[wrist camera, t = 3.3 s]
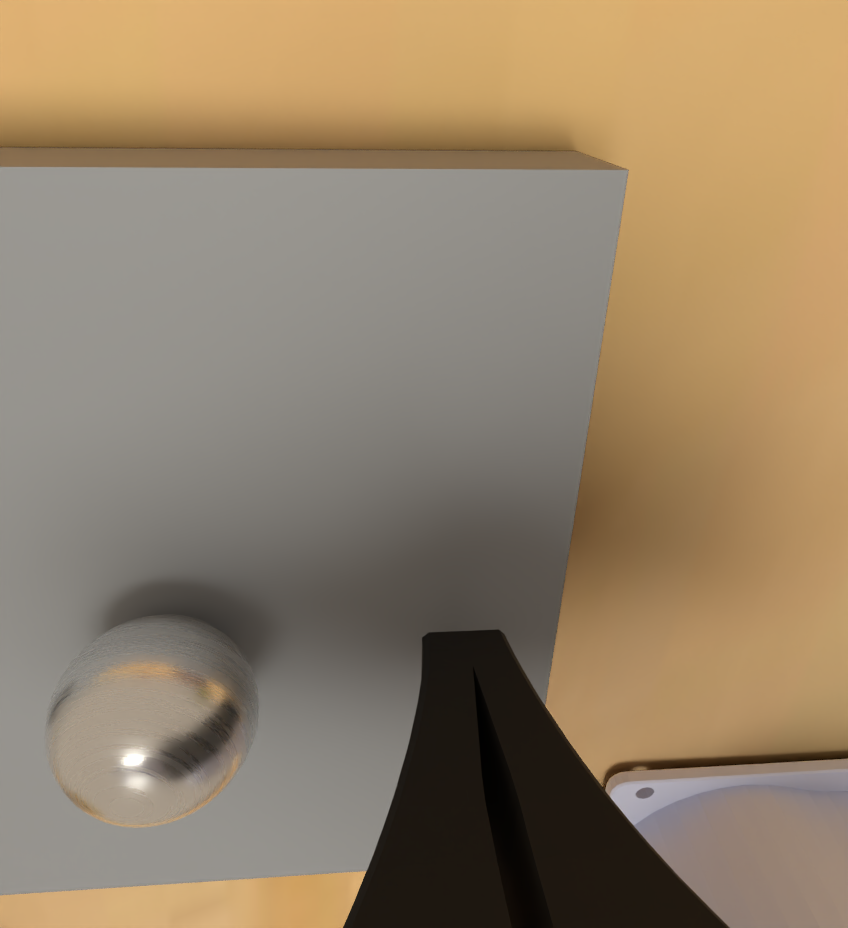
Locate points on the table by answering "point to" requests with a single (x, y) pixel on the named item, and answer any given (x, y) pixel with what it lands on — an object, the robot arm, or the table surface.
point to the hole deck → (284, 458)
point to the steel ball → (151, 721)
